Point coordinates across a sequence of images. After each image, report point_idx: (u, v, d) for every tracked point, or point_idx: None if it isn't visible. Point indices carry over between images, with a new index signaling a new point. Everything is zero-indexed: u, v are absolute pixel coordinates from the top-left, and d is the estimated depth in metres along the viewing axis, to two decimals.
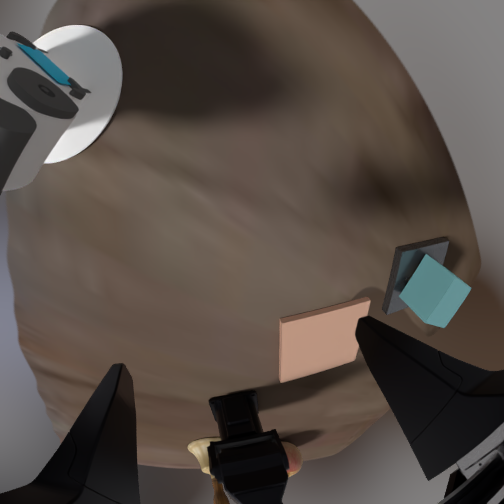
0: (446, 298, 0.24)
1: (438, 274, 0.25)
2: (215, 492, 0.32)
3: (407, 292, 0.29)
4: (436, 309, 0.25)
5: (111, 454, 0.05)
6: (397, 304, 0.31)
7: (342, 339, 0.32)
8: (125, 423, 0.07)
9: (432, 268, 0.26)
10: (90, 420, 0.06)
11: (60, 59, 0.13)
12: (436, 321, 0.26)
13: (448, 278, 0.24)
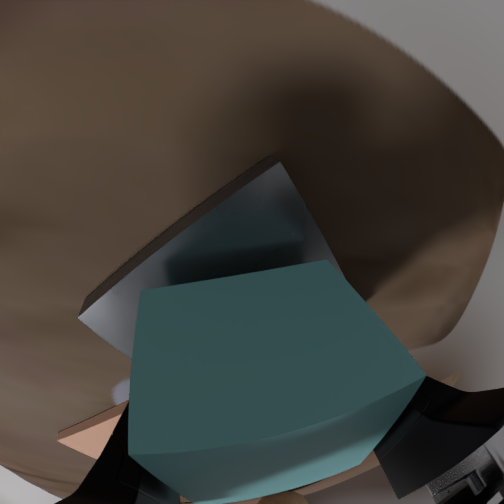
0: (209, 483, 0.05)
1: None
2: None
3: None
4: (198, 496, 0.06)
5: None
6: None
7: None
8: None
9: None
10: None
11: None
12: (262, 493, 0.06)
13: None
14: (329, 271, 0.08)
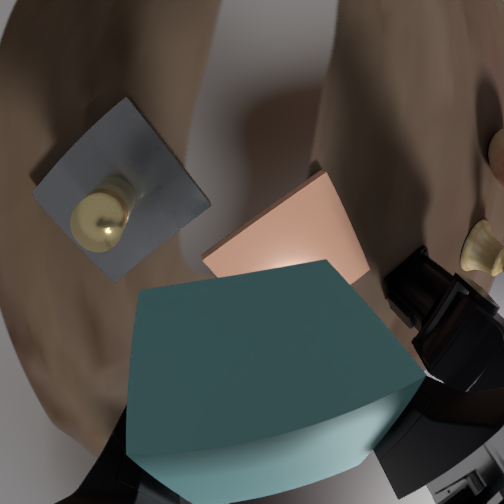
0: (207, 484, 0.05)
1: None
2: None
3: None
4: (197, 497, 0.05)
5: None
6: (182, 199, 0.17)
7: (283, 246, 0.21)
8: None
9: None
10: None
11: None
12: (262, 494, 0.06)
13: None
14: (328, 271, 0.08)
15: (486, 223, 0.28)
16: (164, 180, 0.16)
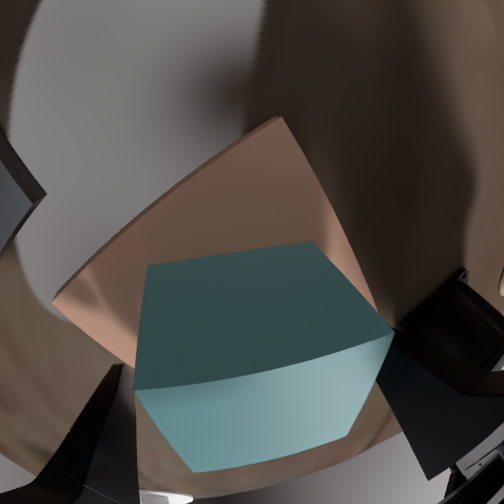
0: (203, 435, 0.06)
1: None
2: None
3: None
4: (193, 456, 0.07)
5: (111, 454, 0.05)
6: None
7: None
8: (125, 423, 0.07)
9: None
10: (90, 420, 0.06)
11: None
12: (253, 458, 0.08)
13: None
14: (313, 250, 0.10)
15: None
16: None
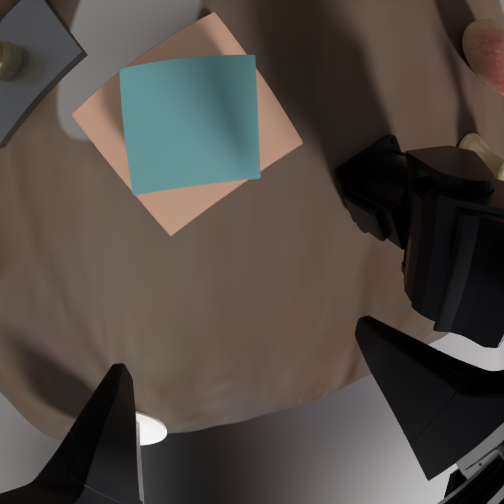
0: (145, 117, 0.10)
1: None
2: None
3: None
4: (135, 154, 0.11)
5: (111, 454, 0.05)
6: (57, 51, 0.10)
7: None
8: (125, 423, 0.07)
9: None
10: (90, 420, 0.06)
11: None
12: (180, 175, 0.12)
13: None
14: None
15: (480, 137, 0.21)
16: (46, 38, 0.10)
